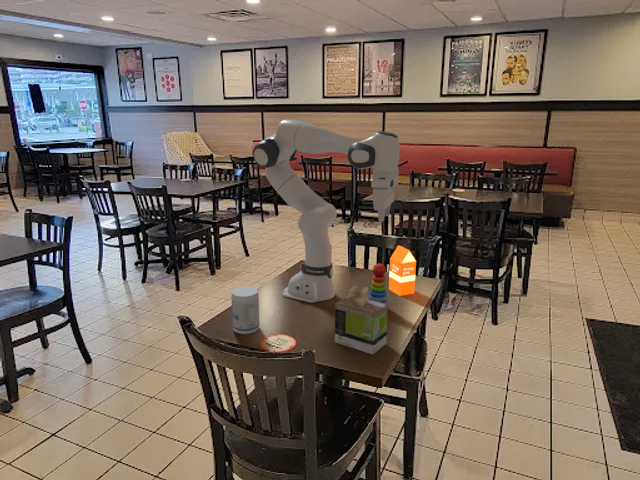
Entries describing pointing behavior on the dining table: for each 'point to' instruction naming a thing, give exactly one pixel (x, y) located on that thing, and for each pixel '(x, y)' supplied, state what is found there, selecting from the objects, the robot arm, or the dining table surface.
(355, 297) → the birch cube
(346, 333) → the tea box
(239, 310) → the supplement tub
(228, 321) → the dining table surface
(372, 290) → the stacking toy
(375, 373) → the dining table surface
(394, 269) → the orange juice
